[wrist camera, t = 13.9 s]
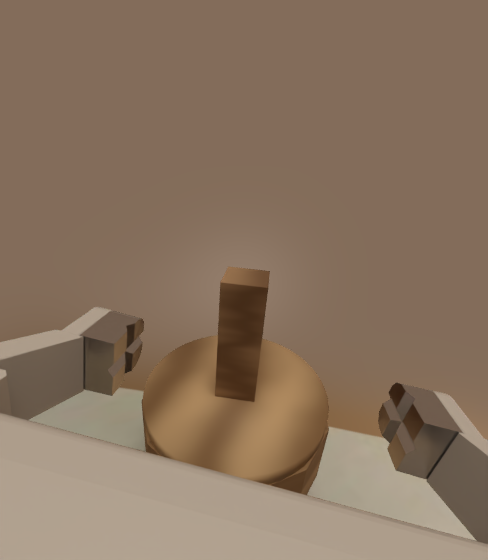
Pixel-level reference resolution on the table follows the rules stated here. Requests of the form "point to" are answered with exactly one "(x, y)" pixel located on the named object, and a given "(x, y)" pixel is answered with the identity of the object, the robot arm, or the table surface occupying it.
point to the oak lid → (239, 397)
